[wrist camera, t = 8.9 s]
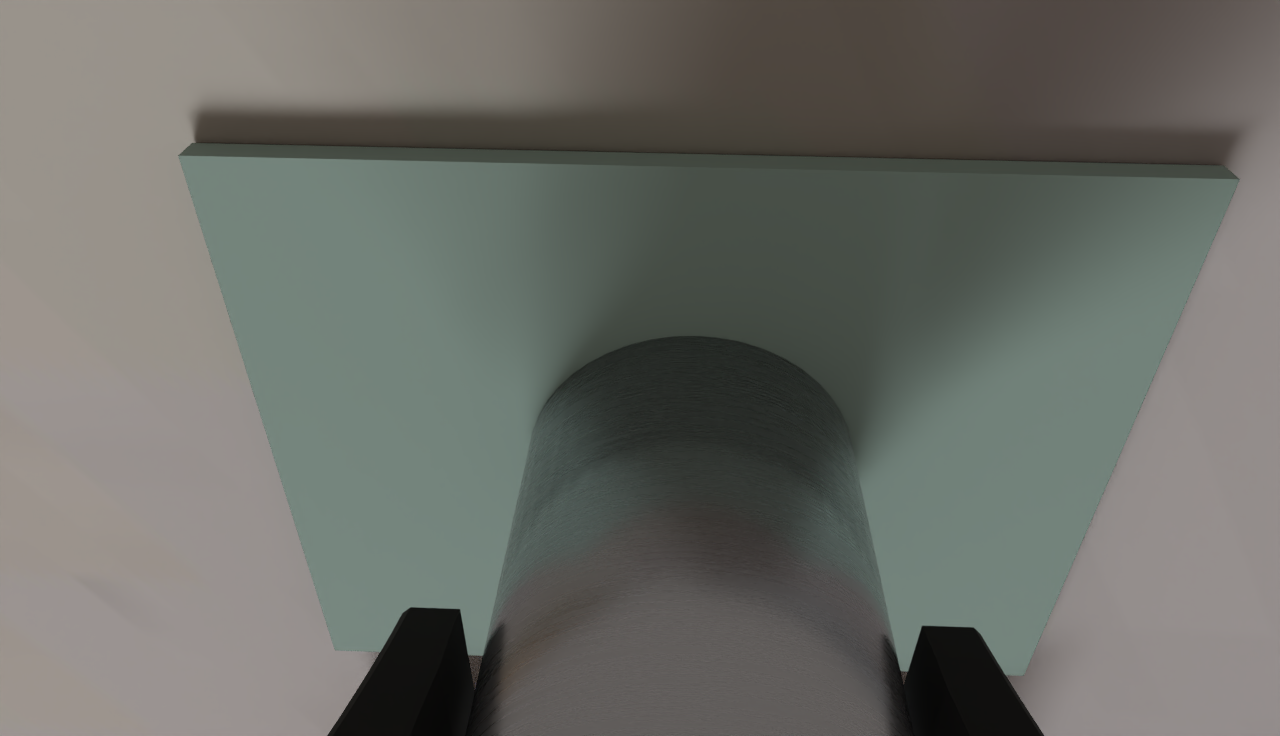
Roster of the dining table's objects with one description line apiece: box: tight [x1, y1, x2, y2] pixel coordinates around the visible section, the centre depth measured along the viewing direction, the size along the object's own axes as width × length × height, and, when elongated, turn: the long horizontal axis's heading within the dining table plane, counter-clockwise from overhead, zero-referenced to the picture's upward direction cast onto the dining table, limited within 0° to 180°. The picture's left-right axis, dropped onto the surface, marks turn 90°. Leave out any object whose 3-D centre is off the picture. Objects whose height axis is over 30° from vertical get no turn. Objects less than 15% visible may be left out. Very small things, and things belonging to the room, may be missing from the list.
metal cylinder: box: [465, 336, 914, 736], centre depth 11 cm, size 5×5×8 cm
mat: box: [178, 143, 1240, 676], centre depth 14 cm, size 13×10×1 cm
